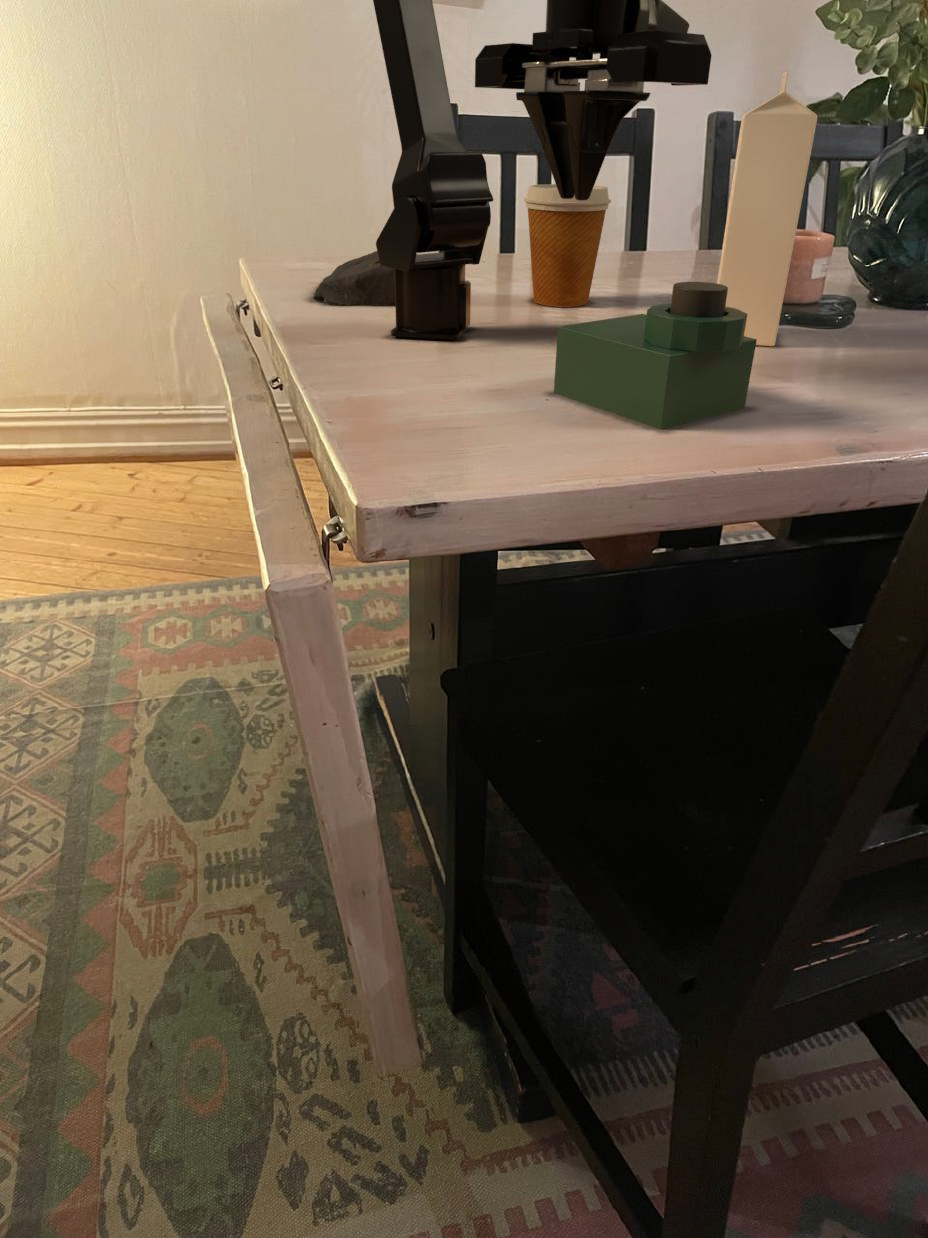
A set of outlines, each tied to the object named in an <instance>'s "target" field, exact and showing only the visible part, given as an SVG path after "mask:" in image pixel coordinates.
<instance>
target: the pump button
mask: <svg viewBox="0 0 928 1238" xmlns="http://www.w3.org/2000/svg"><path fill="white" fill-rule="evenodd" d="M727 292H728V287H727V286H725V285H721V284H717V282H716V283H715V282H708V281H680V282H676V283H673V285H672V293H671V300H670V303H671V308H670V313H671V314H675V315H680V316H686V317H697V318H716V317H722V316H724V311H725V305H726V299H727Z"/></svg>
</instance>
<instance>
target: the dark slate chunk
mask: <svg viewBox="0 0 928 1238" xmlns="http://www.w3.org/2000/svg"><path fill="white" fill-rule="evenodd" d="M418 254H419V253H417V254H416V255H418ZM312 299H313V300H314V301H317V302H321V303H322V302H325V303H326V304H327V305H331V306H332V305H333V306H334V305H340V306H353V305H361V306H395V269H393V268H388V267H384V266H381V265H380V262H379V257H378V252H377V250H375V251H373V252H371V253H368V254H365V255H362V256H360V257H357V258H356V257H355V258H353V259H350V260H348V261H346V262H344V263H343V264H340V265H337V266H336V268H335V269H334V270H333V271H332V273H330V274H329V275H327V276H326V277H324V278H323V279H322V281H321V282H320V283H319V285H318V286H317V288H316V289H315V292H314V294H313V298H312Z"/></svg>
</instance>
